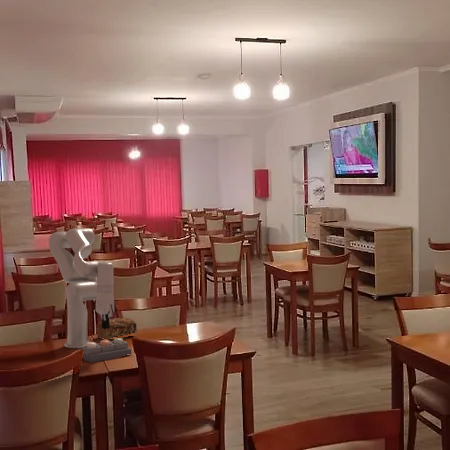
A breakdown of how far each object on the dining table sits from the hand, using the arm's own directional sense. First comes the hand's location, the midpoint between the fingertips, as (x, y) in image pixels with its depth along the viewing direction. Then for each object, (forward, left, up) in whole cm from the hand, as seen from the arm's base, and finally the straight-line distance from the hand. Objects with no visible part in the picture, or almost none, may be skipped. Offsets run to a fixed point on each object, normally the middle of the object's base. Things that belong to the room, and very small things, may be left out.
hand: (105, 328), depth 279 cm
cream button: (-1, -7, -9) cm, 11 cm away
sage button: (-1, +7, -9) cm, 11 cm away
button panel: (-1, 0, -13) cm, 13 cm away
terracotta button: (-1, 0, -9) cm, 9 cm away
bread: (-32, +24, -14) cm, 42 cm away
